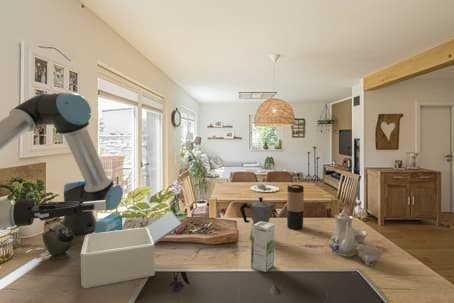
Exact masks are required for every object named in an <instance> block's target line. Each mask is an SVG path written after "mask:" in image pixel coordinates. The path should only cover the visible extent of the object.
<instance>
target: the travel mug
mask: <svg viewBox="0 0 454 303" xmlns="http://www.w3.org/2000/svg"><path fill="white" fill-rule="evenodd" d="M304 187H305V186H304V185H301V184H292V185H287V192H286V195H287V196H286V201H287V202H286V203H287V204H286V208H287V209H286V220H287V222H286V223H287V224H286V226H287V229H288V230H293V231H301V230H302V229H303V228H304V213H305V212H304V209H305V207H304V206H305V204H304V201H305V200H304V199H305V197H304V196H305V195H304V194H305V193H304V190H305V189H304Z"/></svg>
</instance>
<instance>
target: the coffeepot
mask: <svg viewBox="0 0 454 303" xmlns="http://www.w3.org/2000/svg"><path fill="white" fill-rule="evenodd" d="M258 200H259V201H255V202H249V203H247V202H244V203H242V204H241V205H240V207H239V209H240V210H239V211H240V212H241V216H242V219H243V222H244V223H246V224H247V223H250V220H249V219H247V215H246V211H245V208H246V209H250V215H251V220H252V225H254V224H256V223H258V222H260V221H261V222H268V223H270V219H271V214H272V212H273V210H274V209H275V208H276V207H277V205H276V204H275V203H270V202H265V201H263V200H264V197H262V196H261V197H258ZM252 225H251V226H252ZM249 240H250V241H251V242H252V228H251V230H250V236H249Z"/></svg>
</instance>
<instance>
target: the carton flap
mask: <svg viewBox="0 0 454 303" xmlns="http://www.w3.org/2000/svg"><path fill="white" fill-rule="evenodd" d="M182 226H183V224H182V222H181V221H180V220H179V218H178V217H176V215H175V214H174V213H173V211H171V210H170V211H169V212H167V213H166V214H164V215H162V216H161V217H160V218H158V219H156V220H155V221H154V222H151V224H149V225H147V228H148V230H149V232H150V235H151V237H152V239H153V242H154V244H157V243H158V242H160V241H161V240H163V239H164V238H166V237H167V236H168V235H170V234H171V233H172V232H174V231H176V230H177V229H178V228H180V227H182Z"/></svg>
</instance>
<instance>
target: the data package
mask: <svg viewBox="0 0 454 303" xmlns="http://www.w3.org/2000/svg"><path fill="white" fill-rule="evenodd" d="M96 221H97V222H96V224H95V230H94V233H102V232H110V231H119V230H123V216H122V215H121V214H109V215H107V216H105V217H103V218H101V219H99V220H96Z"/></svg>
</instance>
